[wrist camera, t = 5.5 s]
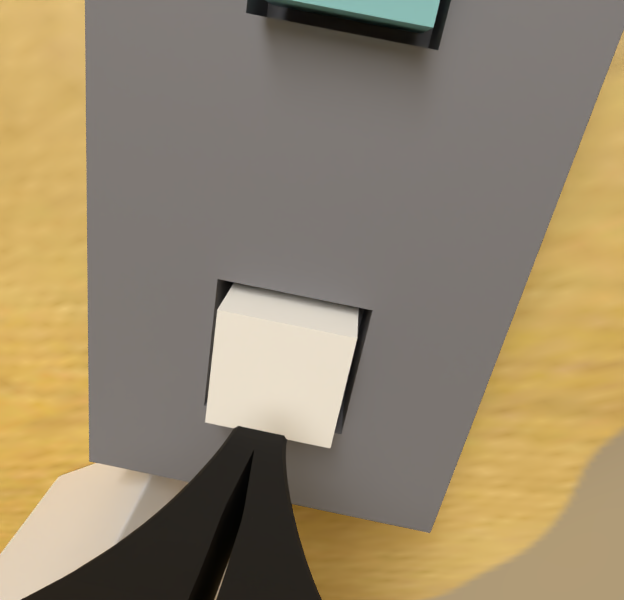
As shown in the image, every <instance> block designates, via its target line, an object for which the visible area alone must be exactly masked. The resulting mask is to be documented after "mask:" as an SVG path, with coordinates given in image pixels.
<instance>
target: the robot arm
mask: <svg viewBox="0 0 624 600" xmlns="http://www.w3.org/2000/svg"><path fill="white" fill-rule="evenodd" d="M286 444H287V439H286V438H285V436H284V435H280V434H275V433H270V432H265V431H261V430H256V429H251V428H246V427H241V426H237V427H235V428H234V429H233V430H232V432H231V433H230V435H229V436H228V438H227V439H226V440H225V442H224V443H223V444H222V446H221V447H220V448H219V450H218V451H217V452H216V453H215V454H214V456H213V457H212V458H211V459H210V460H209V461H208V463H207V464H206V465H205V466H204V467H203V468H202V469H201V470H200V471H199V472H198V474H197V475H196V476H195V477H194V478H193V479H192V480H191V481H190V482H189V483H188V484H187V485H186V486H185V487H184V488H183V489H182V490H181V491H180V492H179V493H178V494H177V495H176V496H175V497H174V498H173V499H171V500H170V501H169V502H168V503H167V504H166V505H165V506H164V507H163V508H161V509H160V510H159V511H158V512H157V513H156V514H154V515H153V516H152V517H151V518H150V519H148V520H147V521H146V522H145V523H143V524H142V525H141V526H140V527H138V528H137V529H136V530H134V531H133V532H132V533H130V534H129V535H128V536H126V537H125V538H124V539H122V540H121V541H119V542H118V543H117V544H115V545H114V546H112V547H111V548H109V549H108V550H106V551H105V552H103V553H102V554H100V555H99V556H97V557H95V558H94V559H92V560H91V561H89V562H87V563H86V564H84V565H83V566H81V567H79V568H78V569H76V570H75V571H73V572H71V573H70V574H68V575H66V576H64V577H63V578H61V579H59V580H57V581H55V582H53V583H51V584H49V585H48V586H46V587H44V588H42V589H40V590H38V591H36V592H34V593H32V594H30V595H29V596H27V597H25V598H23V599H21V600H214V599H215V597H216V594H217V591H218V589H219V586H220V583H221V580H222V578H223V575H224V572H225V575H224V578H223V581H222V584H221V587H220V590H219V593H218V596H217V599H216V600H322V599H321V597H320V595H319V592H318V590H317V588H316V585H315V583H314V580H313V578H312V575H311V572H310V569H309V567H308V564H307V561H306V558H305V555H304V551H303V548H302V545H301V542H300V538H299V534H298V531H297V527H296V522H295V518H294V514H293V509H292V504H291V499H290V492H289V486H288V479H287V469H286ZM227 564H228V565H227ZM226 567H227V568H226ZM225 570H226V571H225Z"/></svg>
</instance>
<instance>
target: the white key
mask: <svg viewBox="0 0 624 600" xmlns="http://www.w3.org/2000/svg"><path fill="white" fill-rule="evenodd" d="M358 311H359V308H358V307H353V306H348V305H344V304H339V303H334V302H329V301H324V300H319V299H314V298H309V297H304V296H299V295H294V294H289V293H284V292H280V291H275V290H270V289H265V288H260V287H255V286H250V285H245V284H240V283H235V282H234V283H233V285H232V287H231V288H230V290H229V292H228V293H227V295H226V297H225V298H224V300H223V301H222V303H221V305H220V306H219V308H218V310H217V318H216V327H215V336H214V345H213V354H212V363H211V372H210V382H209V391H208V400H207V409H206V418H205V423H210V424H215V425H220V426H225V427H229V428H235V427H237V426H241V427H246V428H251V429H256V430H261V431H265V432H270V433H275V434H280V435H284V436H285V438H286V439H287V440H292V441H297V442H302V443H306V444H311V445H316V446H321V447H326V448H331V444H332V440H333V436H334V432H335V427H336V423H337V419H338V415H339V411H340V407H341V403H342V399H343V395H344V391H345V387H346V382H347V378H348V374H349V370H350V366H351V362H352V358H353V354H354V350H355V346H356V342H357V334H358Z"/></svg>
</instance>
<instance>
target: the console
mask: <svg viewBox="0 0 624 600" xmlns="http://www.w3.org/2000/svg"><path fill="white" fill-rule="evenodd" d="M623 30H624V0H440V3H439V7H438V11H437V15H436V19H435V23H434V27H433V28H432V29H430V30H428V31H426V32H424V33H422V34H419V33H414V32H408V31H403V30H398V29H393V28H388V27H383V26H377V25H372V24H367V23H362V22H357V21H352V20H346V19H341V18H336V17H331V16H326V15H321V14H315V13H310V12H305V11H300V10H295V9H290V8H284V7H279V6H274V5H272V4H271V3H269V2H267V1H265V0H85V46H86V153H87V260H88V367H89V461H90V462H95V463H100V464H104V465H109V466H114V467H119V468H123V469H128V470H133V471H138V472H142V473H147V474H152V475H157V476H161V477H166V478H171V479H176V480H180V481H185V482H190V481H191V480H192V479H193V478H194V477H195V476H196V475H197V474H198V472H199V471H200V470H201V469H202V468H203V467H204V466H205V465H206V464H207V463H208V461H209V460H210V459H211V458H212V457H213V456H214V454H215V453H216V452H217V451H218V450H219V448H220V447H221V446H222V444H223V443H224V442H225V440H226V439H227V438H228V436H229V435H230V433H231V432H232V430H233V429H234V428H229V427H225V426H220V425H215V424H210V423H205V418H206V409H207V400H208V391H209V382H210V372H211V363H212V354H213V345H214V336H215V327H216V318H217V310H218V308H219V306H220V305H221V303H222V301H223V300H224V298H225V297H226V295H227V293H228V292H229V290H230V288H231V287H232V285H233V283H234V282H235V283H240V284H245V285H250V286H255V287H260V288H265V289H270V290H275V291H280V292H284V293H289V294H294V295H299V296H304V297H309V298H314V299H319V300H324V301H329V302H334V303H339V304H344V305H348V306H353V307H358V308H359V311H358V334H357V342H356V346H355V350H354V354H353V358H352V362H351V366H350V370H349V374H348V378H347V382H346V387H345V391H344V395H343V399H342V403H341V407H340V411H339V415H338V419H337V423H336V427H335V432H334V436H333V440H332V444H331V448H326V447H321V446H316V445H311V444H306V443H302V442H297V441H292V440H287V444H286V469H287V479H288V486H289V492H290V499H291V504H295V505H300V506H304V507H309V508H314V509H319V510H323V511H328V512H333V513H338V514H342V515H347V516H352V517H357V518H361V519H366V520H371V521H376V522H380V523H385V524H390V525H395V526H399V527H404V528H409V529H414V530H419V531H423V532H428V533H430V532H431V530H432V527H433V524H434V522H435V519H436V517H437V514H438V511H439V509H440V506H441V504H442V501H443V498H444V496H445V493H446V491H447V488H448V485H449V483H450V480H451V478H452V475H453V472H454V470H455V467H456V465H457V462H458V459H459V457H460V454H461V452H462V449H463V446H464V444H465V441H466V439H467V436H468V433H469V431H470V428H471V426H472V423H473V420H474V418H475V415H476V412H477V410H478V407H479V405H480V402H481V399H482V397H483V394H484V392H485V389H486V386H487V384H488V381H489V379H490V376H491V373H492V371H493V368H494V366H495V363H496V360H497V358H498V355H499V353H500V350H501V347H502V345H503V342H504V340H505V337H506V334H507V332H508V329H509V327H510V324H511V321H512V319H513V316H514V314H515V311H516V308H517V306H518V303H519V300H520V298H521V295H522V293H523V290H524V287H525V285H526V282H527V280H528V277H529V274H530V272H531V269H532V267H533V264H534V261H535V259H536V256H537V254H538V251H539V248H540V246H541V243H542V241H543V238H544V235H545V233H546V230H547V228H548V225H549V222H550V220H551V217H552V215H553V212H554V209H555V207H556V204H557V201H558V199H559V196H560V194H561V191H562V188H563V186H564V183H565V181H566V178H567V175H568V173H569V170H570V168H571V165H572V162H573V160H574V157H575V155H576V152H577V149H578V147H579V144H580V142H581V139H582V136H583V134H584V131H585V129H586V126H587V123H588V121H589V118H590V116H591V113H592V110H593V108H594V105H595V103H596V100H597V97H598V95H599V92H600V89H601V87H602V84H603V82H604V79H605V76H606V74H607V71H608V69H609V66H610V63H611V61H612V58H613V56H614V53H615V50H616V48H617V45H618V43H619V40H620V37H621V35H622V32H623Z"/></svg>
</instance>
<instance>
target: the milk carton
mask: <svg viewBox="0 0 624 600" xmlns="http://www.w3.org/2000/svg"><path fill="white" fill-rule="evenodd" d="M188 483H189V482H185V481H180V480H176V479H171V478H166V477H161V476H157V475H152V474H147V473H142V472H138V471H133V470H128V469H123V468H119V467H114V466H109V465H104V464H100V463H95V464H92V465H89V466H86V467H84V468H81V469H78V470H75V471H72V472H69V473H66V474H64V475H61V476H59V477H58V478H57V479H56V481H55V482H54V483H53V485H52V486H51V487H50V489H49V490H48V491H47V493H46V494H45V495H44V497H43V498H42V499H41V501H40V502H39V503H38V505H37V506H36V507H35V509H34V510H33V511H32V513H31V514H30V515H29V517H28V518H27V519H26V521H25V522H24V523H23V525H22V526H21V527H20V529H19V530H18V531H17V533H16V534H15V535H14V537H13V538H12V539H11V541H10V542H9V543H8V545H7V546H6V547H5V549H4V550H3V551H2V553H1V554H0V600H21V599H23V598H25V597H27V596H29V595H30V594H32V593H34V592H36V591H38V590H40V589H42V588H44V587H46V586H48V585H49V584H51V583H53V582H55V581H57V580H59V579H61V578H63V577H64V576H66V575H68V574H70V573H71V572H73V571H75V570H76V569H78V568H79V567H81V566H83V565H84V564H86V563H87V562H89V561H91V560H92V559H94V558H95V557H97V556H99V555H100V554H102V553H103V552H105V551H106V550H108V549H109V548H111V547H112V546H114V545H115V544H117V543H118V542H119V541H121V540H122V539H124V538H125V537H126V536H128V535H129V534H130V533H132V532H133V531H134V530H136V529H137V528H138V527H140V526H141V525H142V524H143V523H145V522H146V521H147V520H148V519H150V518H151V517H152V516H153V515H154V514H156V513H157V512H158V511H159V510H160V509H161V508H163V507H164V506H165V505H166V504H167V503H168V502H169V501H170V500H171V499H173V498H174V497H175V496H176V495H177V494H178V493H179V492H180V491H181V490H182V489H183V488H184V487H185V486H186V485H187V484H188ZM227 565H228V564H227ZM226 568H227V567H226ZM225 571H226V570H225ZM224 575H225V572H224ZM224 575H223V578H224ZM223 578H222V580H221V583H220V586H219V589H218V591H217V594H216V597H215V599H214V600H216V599H217V596H218V593H219V590H220V587H221V584H222V581H223Z"/></svg>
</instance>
